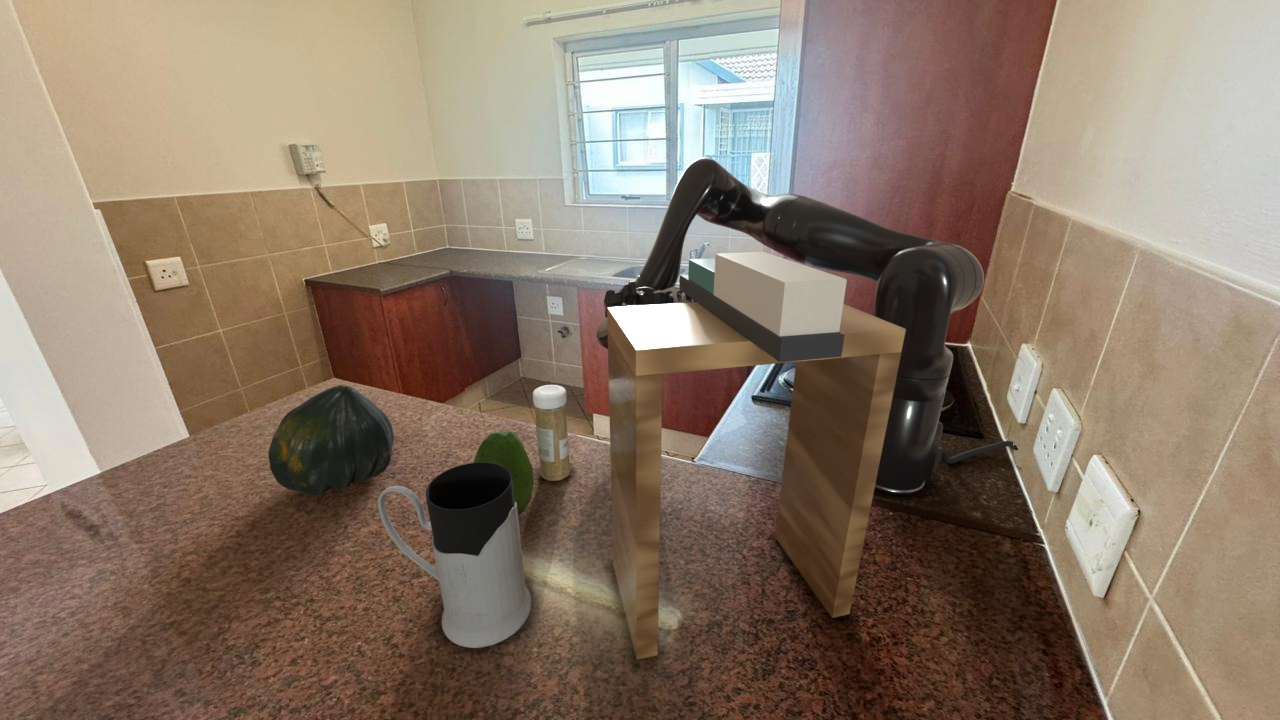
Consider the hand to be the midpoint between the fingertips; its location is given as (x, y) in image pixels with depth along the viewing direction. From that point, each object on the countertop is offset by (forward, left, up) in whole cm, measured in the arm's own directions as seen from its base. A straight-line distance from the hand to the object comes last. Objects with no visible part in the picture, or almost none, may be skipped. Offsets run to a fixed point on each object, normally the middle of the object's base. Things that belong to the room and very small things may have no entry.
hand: (665, 286), depth 66 cm
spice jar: (+16, -1, -28) cm, 32 cm away
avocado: (+23, +7, -28) cm, 36 cm away
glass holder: (+27, +21, -28) cm, 44 cm away
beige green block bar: (0, +24, +3) cm, 24 cm away
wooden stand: (0, +25, -27) cm, 37 cm away
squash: (+46, -7, -28) cm, 54 cm away
